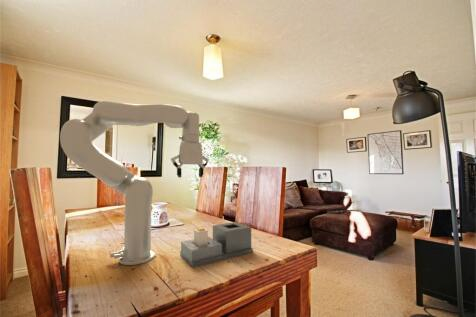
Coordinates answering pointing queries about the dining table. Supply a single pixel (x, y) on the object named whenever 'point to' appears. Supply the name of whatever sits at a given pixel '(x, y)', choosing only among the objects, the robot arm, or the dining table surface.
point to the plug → (200, 236)
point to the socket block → (219, 245)
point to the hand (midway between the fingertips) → (190, 177)
